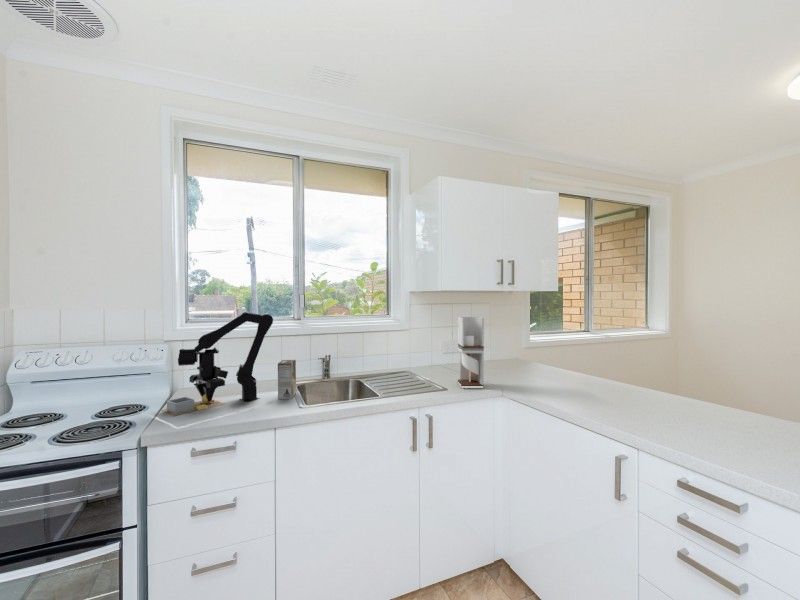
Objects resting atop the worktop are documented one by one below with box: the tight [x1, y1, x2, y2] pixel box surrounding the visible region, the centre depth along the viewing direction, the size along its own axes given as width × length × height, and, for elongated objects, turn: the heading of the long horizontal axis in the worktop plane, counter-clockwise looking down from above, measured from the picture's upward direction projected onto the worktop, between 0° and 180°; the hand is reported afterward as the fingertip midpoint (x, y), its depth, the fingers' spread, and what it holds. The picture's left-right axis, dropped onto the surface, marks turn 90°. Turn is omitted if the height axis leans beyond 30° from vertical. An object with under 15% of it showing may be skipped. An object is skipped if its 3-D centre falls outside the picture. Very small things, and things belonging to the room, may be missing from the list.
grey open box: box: [166, 396, 195, 414], centre depth 148 cm, size 7×7×4 cm
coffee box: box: [277, 359, 297, 400], centre depth 171 cm, size 9×6×16 cm
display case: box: [457, 316, 485, 386], centre depth 190 cm, size 11×11×35 cm
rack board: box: [160, 399, 225, 417], centre depth 153 cm, size 12×20×1 cm, turn 144°
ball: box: [201, 394, 213, 403], centre depth 158 cm, size 4×4×4 cm
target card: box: [194, 404, 209, 411], centre depth 151 cm, size 4×4×1 cm
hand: (207, 400), depth 158 cm, fingers closed on ball, 4 cm apart
